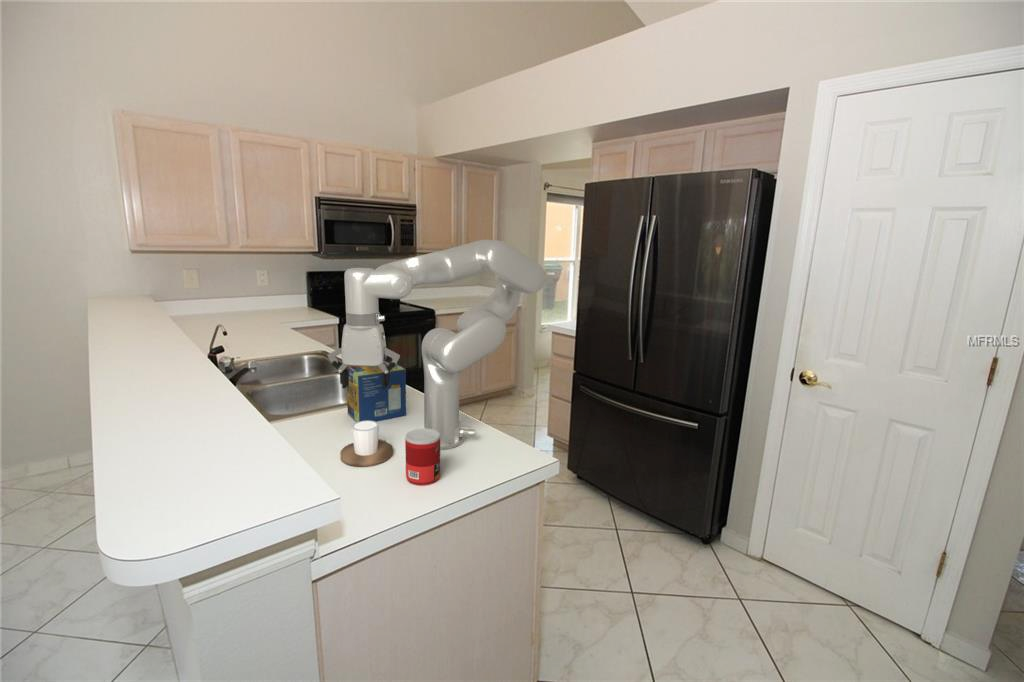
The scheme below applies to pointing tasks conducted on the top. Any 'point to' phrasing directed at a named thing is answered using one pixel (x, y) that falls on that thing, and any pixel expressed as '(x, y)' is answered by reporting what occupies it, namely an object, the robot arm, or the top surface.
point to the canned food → (422, 456)
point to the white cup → (365, 437)
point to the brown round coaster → (374, 459)
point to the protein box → (376, 393)
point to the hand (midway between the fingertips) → (365, 387)
